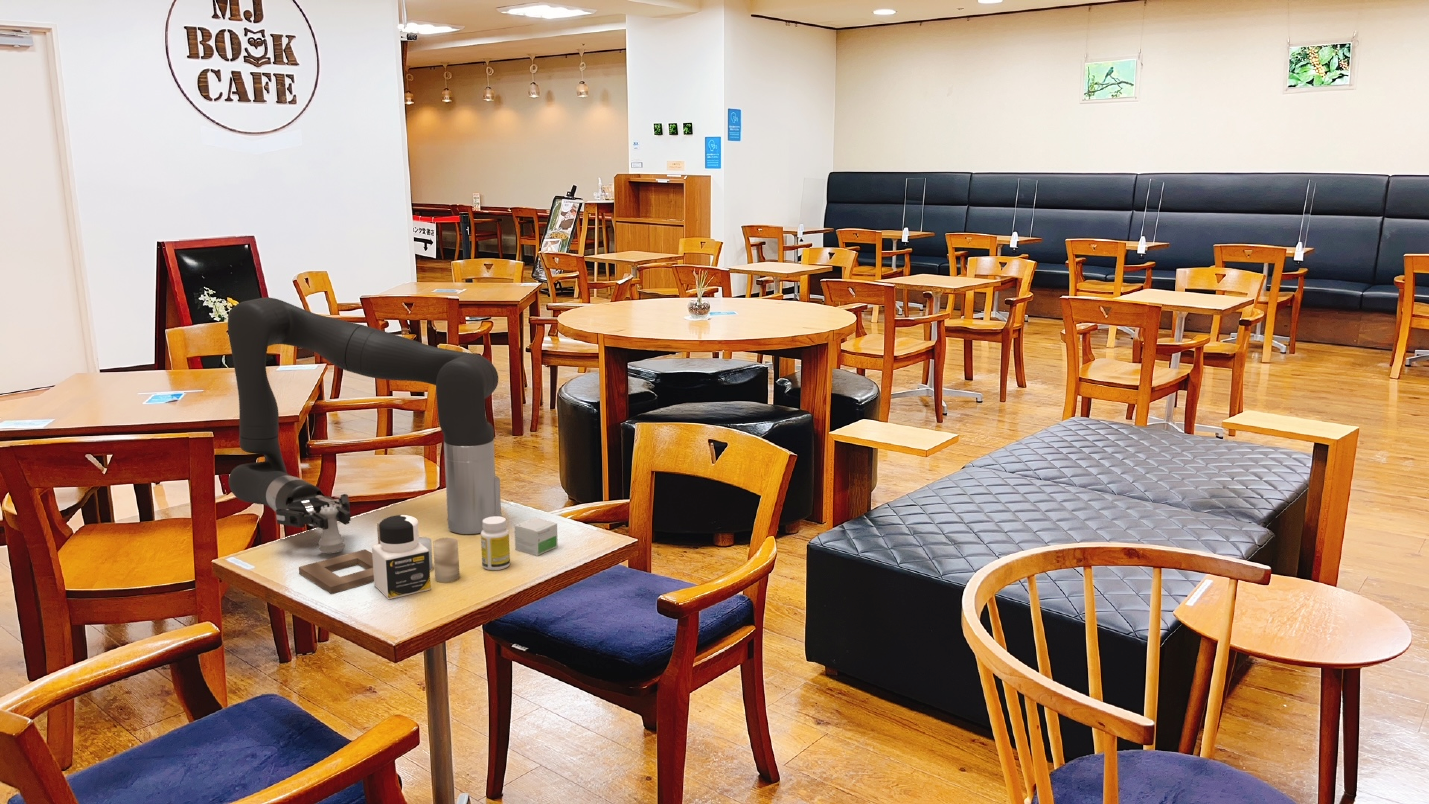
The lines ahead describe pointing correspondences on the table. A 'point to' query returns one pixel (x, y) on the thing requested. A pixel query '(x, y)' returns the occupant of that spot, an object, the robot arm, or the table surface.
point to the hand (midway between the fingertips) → (336, 521)
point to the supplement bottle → (495, 543)
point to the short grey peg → (427, 544)
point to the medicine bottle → (400, 558)
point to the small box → (536, 536)
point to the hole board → (324, 569)
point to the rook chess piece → (331, 532)
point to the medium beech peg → (446, 560)
